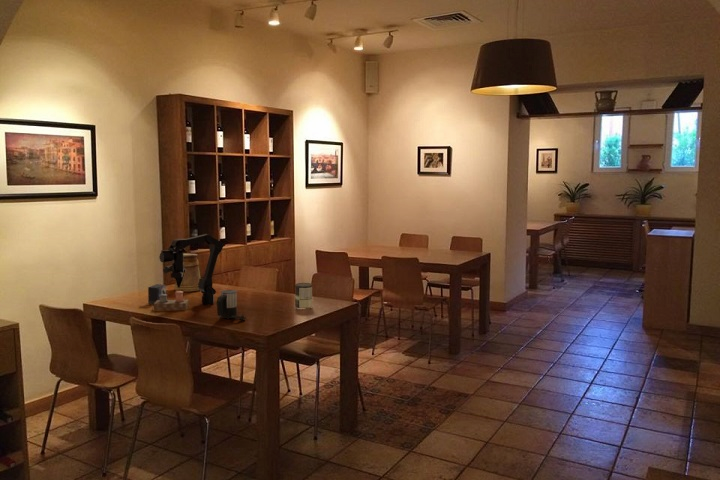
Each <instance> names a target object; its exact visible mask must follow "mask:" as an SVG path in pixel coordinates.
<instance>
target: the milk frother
mask: <svg viewBox="0 0 720 480" xmlns="http://www.w3.org/2000/svg"><path fill="white" fill-rule="evenodd" d="M237 293H238V290H235V289H224V290H223V289H222V290H220V295H219V296H218V297H217V298H216V314H217V316H218V317H221V318H220V319H222V318H227V319H226V320H230V319H229V318H234V319H238V318H239V320H240V319H241V321H244V320H245V319H247V318H246V317H245V315H241V314H240V315H238V312H237V311H238V309H237V306H238V305H237V302H238V300H237V299H238V298H237V297H238V296H237V295H238V294H237ZM243 319H244V320H243Z"/></svg>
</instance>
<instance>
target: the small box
mask: <svg viewBox="0 0 720 480" xmlns="http://www.w3.org/2000/svg"><path fill="white" fill-rule="evenodd" d="M147 291H148V294H147V295H148V298H147V299H148V300H147V304H148V305H154V303H155V302H156V301H157V300H160V297H159V295H160V294H167V285H166V284H160V283H156V284H154V285H150V286H148V287H147Z"/></svg>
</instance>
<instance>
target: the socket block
mask: <svg viewBox="0 0 720 480" xmlns="http://www.w3.org/2000/svg"><path fill="white" fill-rule="evenodd" d="M189 305H190V304H189V299H183V302H181V303H176V299H167V303H160V300H157V301H156V302H155V303H154V304H153V311H154V312H158V311H159V312H160V311H161V312H163V311H165V312H166V311H187V309H188V308H189V307H190V306H189Z"/></svg>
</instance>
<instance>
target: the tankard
mask: <svg viewBox="0 0 720 480" xmlns="http://www.w3.org/2000/svg"><path fill="white" fill-rule="evenodd" d="M183 261H184V268H185V269H186V273H184V272H182V273H183V274H185V275H184V278H183V280H182V283H181V285H180V287H178V286H177V282H176V281H175V284H174V291H175V292H176V291H183V293H185V292H187V293H189V292H197V291H200V290H199V288H198V283H199V279H200V278H201V272H200V266H199V264H200V262H199V259H198V254H197V253H183Z"/></svg>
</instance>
